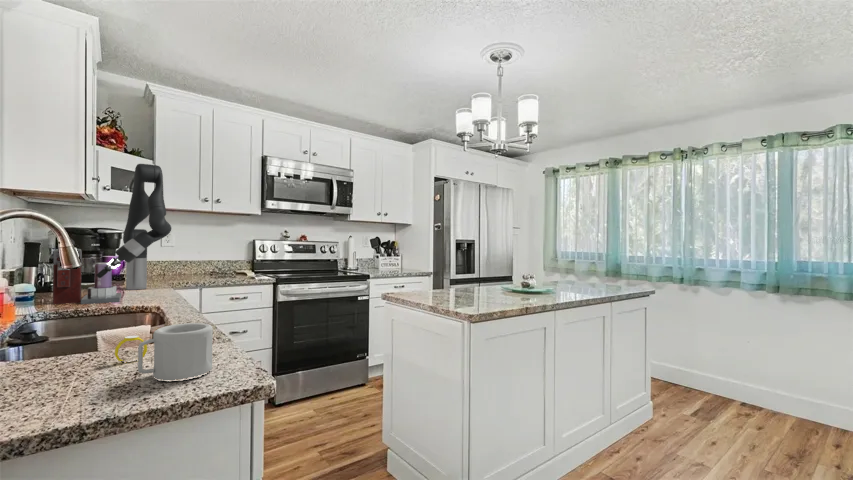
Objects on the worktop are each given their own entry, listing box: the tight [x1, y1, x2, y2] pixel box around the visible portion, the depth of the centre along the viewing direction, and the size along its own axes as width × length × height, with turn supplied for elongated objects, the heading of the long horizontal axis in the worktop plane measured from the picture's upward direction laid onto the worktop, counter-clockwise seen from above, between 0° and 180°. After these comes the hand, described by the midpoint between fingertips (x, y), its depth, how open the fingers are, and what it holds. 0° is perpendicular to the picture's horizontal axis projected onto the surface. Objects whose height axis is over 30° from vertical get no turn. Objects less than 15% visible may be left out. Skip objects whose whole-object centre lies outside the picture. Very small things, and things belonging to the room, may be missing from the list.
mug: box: [137, 322, 214, 380], centre depth 83 cm, size 14×11×10 cm
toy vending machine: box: [52, 238, 83, 305], centre depth 172 cm, size 9×11×28 cm
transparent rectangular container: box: [80, 285, 122, 305], centre depth 179 cm, size 18×13×6 cm
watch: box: [114, 335, 148, 362], centre depth 92 cm, size 6×3×6 cm, turn 139°
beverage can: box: [94, 262, 113, 288], centre depth 179 cm, size 6×6×15 cm
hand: (98, 276), depth 178 cm, fingers open, 8 cm apart
